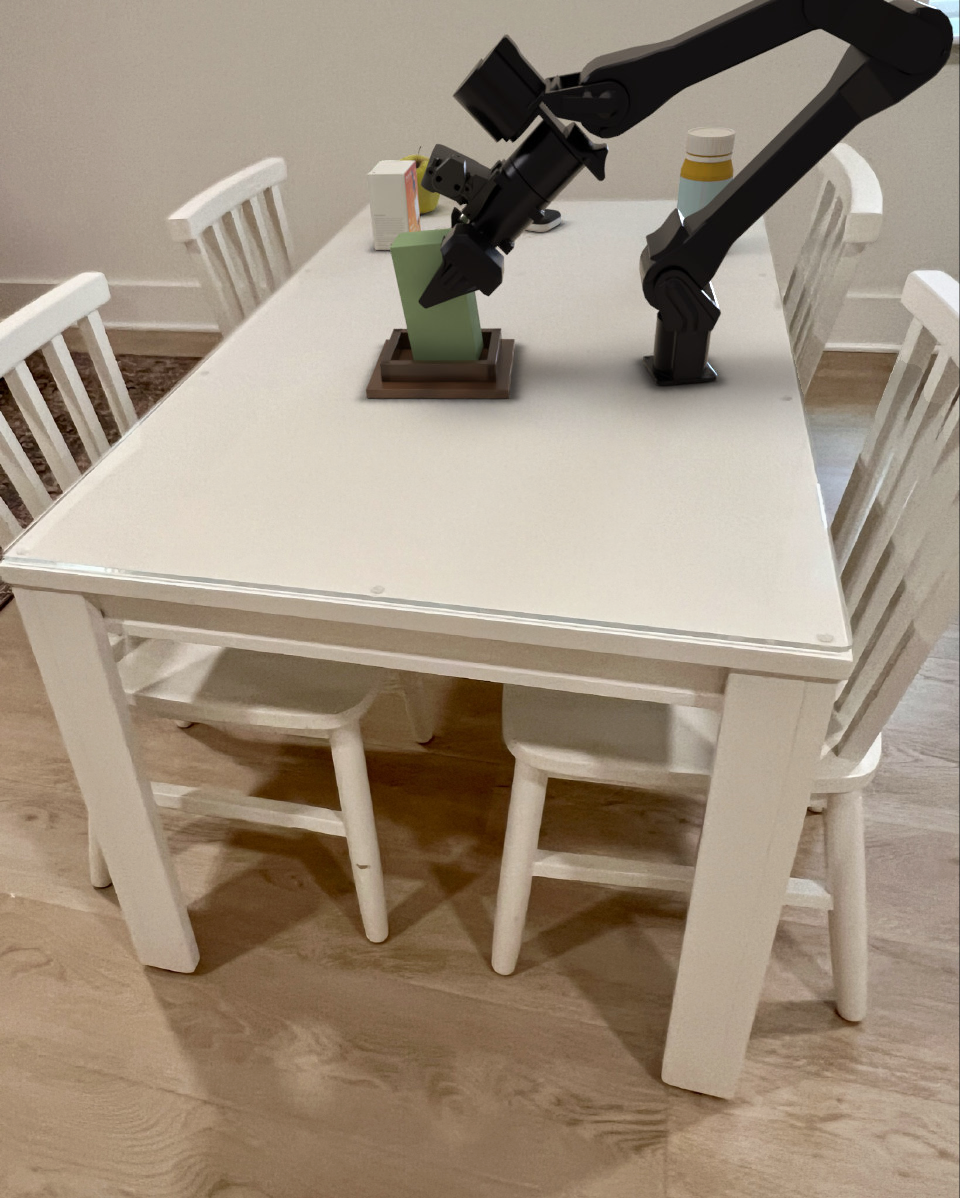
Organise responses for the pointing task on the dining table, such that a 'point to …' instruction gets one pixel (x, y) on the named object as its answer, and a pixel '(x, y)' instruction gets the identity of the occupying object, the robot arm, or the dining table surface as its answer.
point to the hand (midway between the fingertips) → (425, 294)
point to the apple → (425, 197)
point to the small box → (393, 201)
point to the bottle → (705, 167)
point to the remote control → (546, 221)
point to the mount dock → (443, 371)
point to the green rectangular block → (441, 326)
